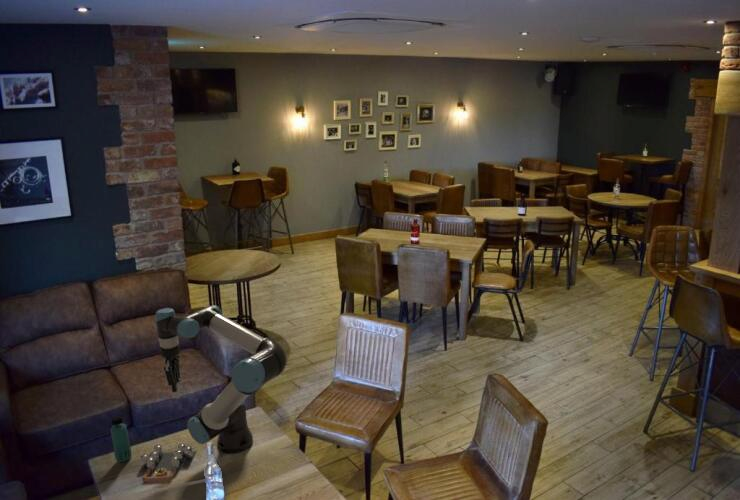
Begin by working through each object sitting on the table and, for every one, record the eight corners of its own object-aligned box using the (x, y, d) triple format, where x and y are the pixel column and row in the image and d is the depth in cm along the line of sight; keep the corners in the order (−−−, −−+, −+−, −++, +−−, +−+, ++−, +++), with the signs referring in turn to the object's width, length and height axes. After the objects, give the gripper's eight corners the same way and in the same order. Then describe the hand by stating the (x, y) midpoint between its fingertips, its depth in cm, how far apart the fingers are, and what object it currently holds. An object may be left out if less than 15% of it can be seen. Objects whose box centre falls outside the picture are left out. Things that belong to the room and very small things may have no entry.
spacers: (195, 453, 245) (193, 442, 244) (186, 470, 233) (185, 459, 232) (149, 455, 245) (147, 445, 244) (138, 472, 233) (137, 461, 232)
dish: (176, 472, 233) (176, 467, 233) (171, 482, 227) (170, 476, 227) (149, 474, 233) (148, 468, 233) (143, 484, 227) (142, 478, 227)
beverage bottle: (126, 466, 240) (119, 422, 235) (112, 464, 241) (104, 421, 236) (135, 457, 246) (128, 414, 241) (121, 455, 247) (114, 413, 243)
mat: (197, 453, 246) (197, 451, 246) (188, 471, 234) (187, 469, 234) (150, 455, 246) (150, 453, 246) (138, 474, 234) (138, 472, 234)
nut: (165, 472, 234) (164, 466, 233) (168, 478, 230) (167, 472, 229) (155, 475, 232) (154, 469, 231) (157, 481, 228) (156, 475, 227)
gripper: (165, 339, 245) (172, 390, 251) (154, 352, 233) (162, 405, 238) (183, 338, 245) (189, 389, 251) (173, 351, 233) (180, 404, 238)
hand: (176, 397), depth 245 cm, fingers closed
